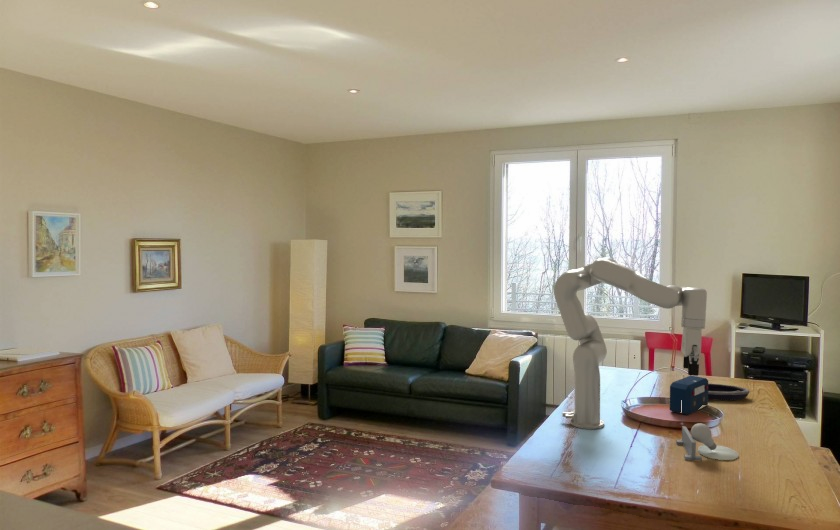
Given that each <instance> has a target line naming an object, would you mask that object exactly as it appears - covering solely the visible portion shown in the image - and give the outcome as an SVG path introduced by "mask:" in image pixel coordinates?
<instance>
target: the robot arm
mask: <svg viewBox="0 0 840 530" xmlns="http://www.w3.org/2000/svg"><path fill="white" fill-rule="evenodd" d="M603 283H604V284H607V285H609V286H612V287H614V288H616V289H619V290H621V291H625V292H626V293H628V294H629V295H632V296H635V297H636V298H638V299H640V300H641V301H644V302H647V303H649V304H650V305H653V306H656V307H659V308H662V309H668V310H669V309H674V308H675V307H679V306H682V309H681V323H680V327H681V328H683V329H682V335H681V336H682V337H681V346H680V347H681V348H680V352H681V353H682V354H683V362H682V366H683V369H687V370H688V371H687V375H688V376H696V377H699V373H700V371H699V370H700V358H701V354H702V338H703V337H702V330H705V328H706V315H707V312H706V311H707V301H708V300H707V298H708V297H707V296H708V292H707V290H706V289H705V288H704V287H703V288H701V287H694V286H693V287H692V286H691V287H690V286H689V287H687V286H686V287H685V286H681V285H676V284H675V285H674V284H671V285H664V284H661V283H658V282H655V281H653V280H650V279H649V278H647V277H645V276H643V274H642V273H641V272H640V271H639V270H636V269H634V268H632V267H629V266H626V265H623V264H620V263H619V262H617V261H616V260H615V259H614V258H611V257H600V258H597V259H595V260H594V261H593V262H592V263H590V264H587V265H585V266H584V265H583V266H582V267H579V268H575V269H569V270H567V271H565V272H563V273H562V274H561V275H559V277H558V278H557V280H556V281H555V284H554V286H553V295H554V296H553V297H554V298H555V301H556V304H557V308H558V310H559V313H560V317H561V320H562V322H563V326H564V328H565V330H566V333H567V336H568V337H569V338H570V339H572V340H573V341H579V345H577V346H576V348H575V349H574V351H573V353H572V354H573V355H572V364H573V373H574V409H573V411H570V412H567V411H562V417H563V418H565V419H570V421H569V422H570V424H571V426H574V427H576V428H579V429H586V430H597V429H601V428H604V427H605V421H604V420H602V419H601V373H600V363H601V362H603V361H604V360H605V359H606V356H607V347H606V342H605V340H604V338H603V335H602V332H601V330H600V327H599V325H598V322H597V320H596V319H595V317H594V316H592V315H591V314H590V313H585V311H584V309H583V306H582V304H581V301H580V300H579V297H578V296H577V292H579V291H583V290H586V289H589V288H591V287H593V286H594V287H595V286H597V285H600V284H603Z"/></svg>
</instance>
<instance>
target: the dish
mask: <svg viewBox="0 0 840 530" xmlns="http://www.w3.org/2000/svg"><path fill="white" fill-rule="evenodd" d="M750 392H751V391H750V390H749V389H748V388H746V387H742V386H736V385H728V384H720V383H708V401H738V400H743V399H746V398H747V397H748V396H749V394H750Z"/></svg>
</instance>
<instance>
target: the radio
mask: <svg viewBox="0 0 840 530" xmlns="http://www.w3.org/2000/svg"><path fill="white" fill-rule="evenodd" d="M708 384H709V379H707V377H701V376H694V375H688V376H686V377H685V376H684V377H683V378H680V379H678V380H675V381H672V382H671V383H670V386H669V411H671V412H673V413H677V414H680V412H681V400H682V413H683V414H682V415H686V416H690V415H691V414H694V413H697V412H698V411H699V410H698V409H699V408H700V407H701V406H702V405H707V406H708V405H709V400H708ZM697 410H698V411H697ZM689 414H690V415H689Z"/></svg>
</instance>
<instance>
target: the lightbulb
mask: <svg viewBox="0 0 840 530" xmlns="http://www.w3.org/2000/svg"><path fill="white" fill-rule="evenodd" d="M690 434H691V436H692V437H693V439H694V440H695V442H698V443H702V444H703V445H705V446H707V447H708V448H709V449H710V450H714V449H716V447H717V446H716V445H717V444H716V442H715V441H714V439H713V436H712V431H711V428H710V426H708V425H707V424H705V423H700V422H699V423H695V424H694V425H693V426H692V427H691V429H690Z"/></svg>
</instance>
